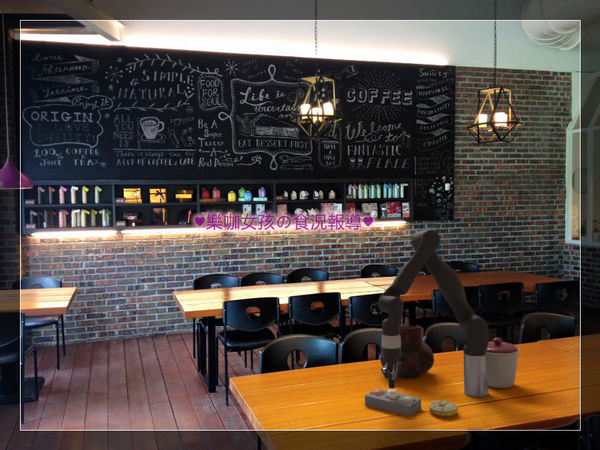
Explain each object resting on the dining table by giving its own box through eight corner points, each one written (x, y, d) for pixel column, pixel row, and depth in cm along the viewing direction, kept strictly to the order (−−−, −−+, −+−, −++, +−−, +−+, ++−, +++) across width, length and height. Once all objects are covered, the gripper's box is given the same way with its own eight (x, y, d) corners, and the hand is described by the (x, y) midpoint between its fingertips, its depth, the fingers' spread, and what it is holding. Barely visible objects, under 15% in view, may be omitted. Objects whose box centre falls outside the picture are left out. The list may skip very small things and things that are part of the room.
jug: (430, 367, 261) (429, 317, 260) (438, 384, 236) (437, 329, 235) (379, 366, 263) (378, 317, 262) (382, 384, 238) (380, 329, 238)
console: (421, 408, 209) (421, 398, 209) (409, 416, 201) (408, 406, 201) (377, 397, 222) (377, 388, 222) (364, 405, 214) (364, 395, 214)
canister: (524, 393, 222) (523, 343, 222) (479, 391, 226) (478, 342, 225) (515, 378, 240) (515, 333, 239) (474, 377, 244) (473, 332, 243)
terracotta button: (384, 400, 216) (384, 390, 216) (379, 403, 213) (379, 393, 213) (376, 398, 219) (375, 388, 219) (370, 401, 216) (370, 391, 216)
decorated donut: (443, 406, 211) (443, 396, 211) (463, 415, 202) (463, 405, 202) (423, 411, 207) (423, 401, 206) (442, 420, 197) (442, 410, 197)
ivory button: (399, 400, 212) (399, 390, 212) (394, 403, 209) (394, 393, 209) (390, 398, 214) (390, 388, 214) (385, 401, 211) (385, 391, 211)
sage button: (415, 408, 207) (415, 397, 207) (410, 411, 204) (410, 400, 204) (406, 405, 210) (406, 395, 210) (401, 409, 207) (401, 398, 207)
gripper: (391, 350, 203) (391, 394, 204) (407, 343, 213) (408, 385, 214) (374, 347, 208) (375, 390, 209) (391, 340, 218) (392, 381, 219)
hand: (392, 387), depth 211 cm, fingers closed
